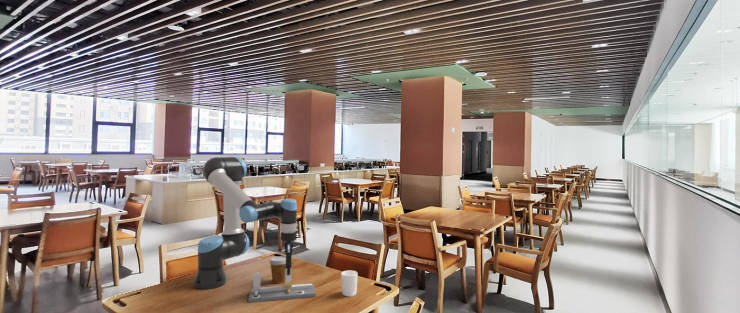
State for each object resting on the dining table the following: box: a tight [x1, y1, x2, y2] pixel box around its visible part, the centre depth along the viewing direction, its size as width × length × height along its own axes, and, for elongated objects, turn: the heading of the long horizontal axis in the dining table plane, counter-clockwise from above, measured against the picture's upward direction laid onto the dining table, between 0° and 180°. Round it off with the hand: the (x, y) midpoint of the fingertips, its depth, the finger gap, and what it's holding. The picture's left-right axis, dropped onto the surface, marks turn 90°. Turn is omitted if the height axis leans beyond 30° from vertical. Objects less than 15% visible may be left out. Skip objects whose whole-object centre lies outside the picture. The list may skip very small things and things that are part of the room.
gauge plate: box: [248, 272, 317, 303], centre depth 171 cm, size 30×12×10 cm, turn 104°
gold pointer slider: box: [284, 259, 293, 293], centre depth 171 cm, size 3×8×13 cm, turn 14°
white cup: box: [340, 269, 359, 297], centre depth 172 cm, size 8×8×10 cm
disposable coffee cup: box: [269, 255, 286, 284], centre depth 188 cm, size 10×10×12 cm
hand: (288, 279), depth 173 cm, fingers closed on gold pointer slider, 3 cm apart
